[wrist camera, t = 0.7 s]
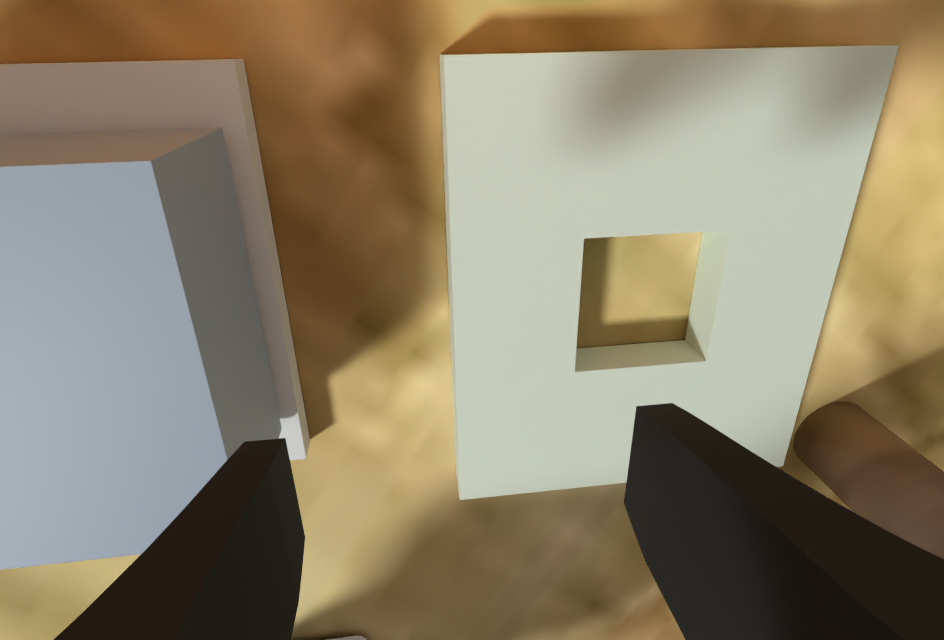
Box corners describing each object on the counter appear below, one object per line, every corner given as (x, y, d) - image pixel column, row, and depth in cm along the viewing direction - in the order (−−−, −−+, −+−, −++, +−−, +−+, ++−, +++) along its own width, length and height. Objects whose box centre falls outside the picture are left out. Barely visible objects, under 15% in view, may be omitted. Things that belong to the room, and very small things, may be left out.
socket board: (759, 441, 22) (782, 465, 21) (455, 471, 21) (459, 500, 20) (857, 45, 16) (899, 45, 15) (439, 54, 15) (444, 55, 14)
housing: (281, 428, 18) (248, 542, 14) (-31, 455, 17) (-167, 587, 13) (222, 127, 14) (150, 161, 10) (-188, 141, 13) (-458, 184, 9)
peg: (853, 459, 24) (991, 581, 18) (786, 467, 23) (904, 592, 18) (874, 398, 22) (1028, 510, 17) (803, 405, 22) (937, 521, 17)
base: (310, 440, 20) (305, 461, 19) (-2, 468, 19) (-26, 493, 18) (243, 59, 15) (231, 59, 13) (-195, 68, 13) (-243, 70, 12)
